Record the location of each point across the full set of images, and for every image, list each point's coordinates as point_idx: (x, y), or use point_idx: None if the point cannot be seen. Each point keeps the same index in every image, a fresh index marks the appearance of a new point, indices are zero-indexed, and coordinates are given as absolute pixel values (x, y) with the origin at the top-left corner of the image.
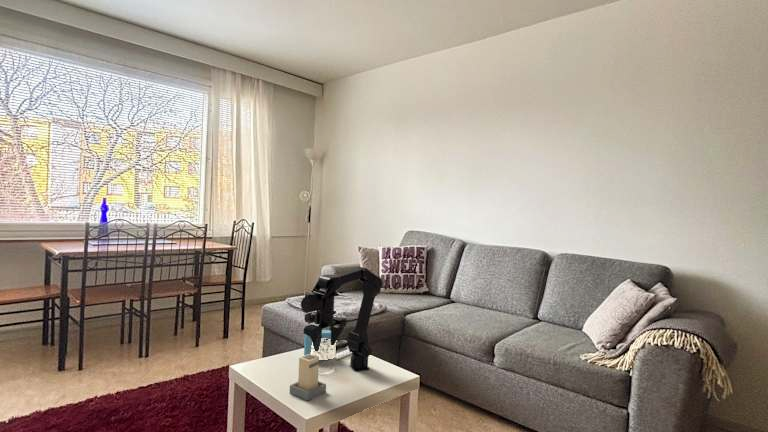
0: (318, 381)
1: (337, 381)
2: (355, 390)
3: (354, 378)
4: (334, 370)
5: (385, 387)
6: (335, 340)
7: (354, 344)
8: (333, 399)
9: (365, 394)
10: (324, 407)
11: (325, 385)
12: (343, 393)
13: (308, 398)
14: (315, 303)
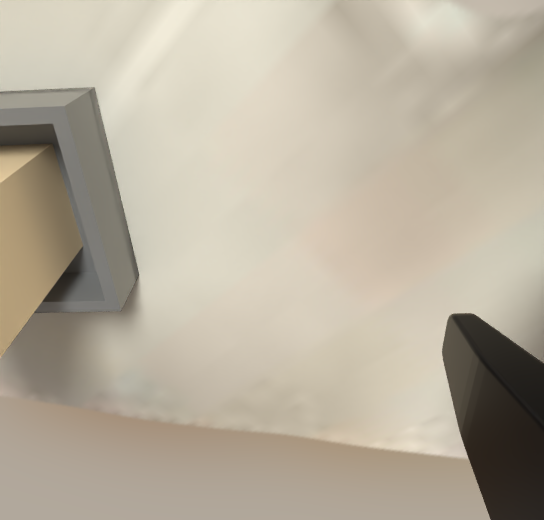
0: (98, 241)
1: (331, 221)
2: (302, 375)
3: (461, 276)
4: (527, 31)
5: (449, 452)
6: (488, 478)
7: None
8: (118, 358)
9: (301, 429)
10: (21, 377)
11: (116, 306)
12: (218, 353)
13: None
14: None
